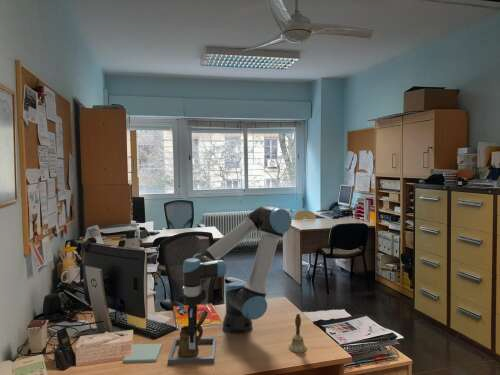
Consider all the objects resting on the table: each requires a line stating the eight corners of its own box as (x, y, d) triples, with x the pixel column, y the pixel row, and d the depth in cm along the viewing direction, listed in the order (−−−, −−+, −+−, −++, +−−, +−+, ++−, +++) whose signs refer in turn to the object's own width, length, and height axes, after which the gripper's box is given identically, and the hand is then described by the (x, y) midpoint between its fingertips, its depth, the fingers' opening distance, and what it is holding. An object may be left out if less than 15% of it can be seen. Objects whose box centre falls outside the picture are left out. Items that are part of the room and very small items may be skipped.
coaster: (162, 345, 180) (162, 343, 180) (156, 361, 166) (156, 359, 166) (131, 346, 180) (131, 344, 179) (123, 362, 166) (122, 360, 166)
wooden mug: (209, 355, 171) (208, 315, 170) (178, 359, 168) (177, 318, 167) (207, 346, 180) (206, 307, 178) (177, 349, 177) (176, 310, 176)
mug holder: (216, 341, 184) (215, 337, 184) (214, 362, 165) (213, 358, 164) (174, 342, 183) (174, 338, 183) (167, 364, 164) (167, 359, 164)
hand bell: (308, 345, 179) (308, 311, 178) (304, 354, 172) (304, 318, 170) (290, 343, 182) (290, 309, 181) (286, 351, 174) (286, 316, 173)
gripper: (186, 287, 182) (187, 334, 183) (180, 302, 162) (181, 356, 163) (202, 286, 182) (203, 334, 184) (198, 302, 162) (199, 355, 164)
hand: (193, 344), depth 173 cm, fingers closed on wooden mug, 7 cm apart
